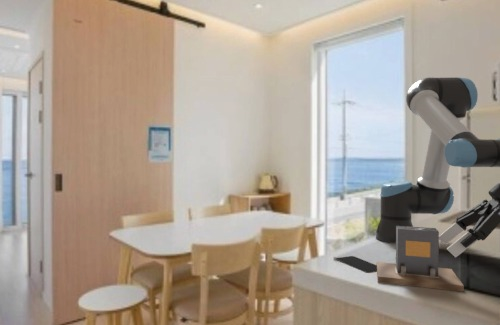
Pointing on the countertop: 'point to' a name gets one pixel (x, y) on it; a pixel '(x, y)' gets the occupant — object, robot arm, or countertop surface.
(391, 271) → the dock
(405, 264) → the block
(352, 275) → the countertop surface
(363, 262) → the smartphone
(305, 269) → the countertop surface
